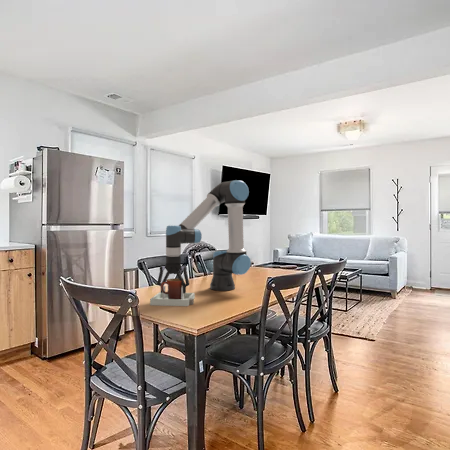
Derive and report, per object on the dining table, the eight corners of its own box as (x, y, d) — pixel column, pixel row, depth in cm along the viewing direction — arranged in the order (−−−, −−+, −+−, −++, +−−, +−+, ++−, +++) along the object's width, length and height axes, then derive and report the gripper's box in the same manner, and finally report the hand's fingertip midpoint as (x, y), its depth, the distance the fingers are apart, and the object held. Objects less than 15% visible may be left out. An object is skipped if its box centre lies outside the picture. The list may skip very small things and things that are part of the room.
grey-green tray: (197, 298, 190) (197, 293, 190) (191, 306, 173) (191, 300, 173) (159, 297, 192) (159, 292, 192) (150, 305, 175) (150, 299, 175)
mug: (179, 297, 189) (179, 277, 189) (186, 300, 181) (186, 280, 181) (157, 299, 183) (157, 279, 183) (164, 303, 175) (164, 282, 175)
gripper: (195, 255, 185) (195, 298, 185) (154, 254, 187) (154, 297, 187) (192, 256, 177) (192, 301, 178) (150, 256, 179) (150, 300, 180)
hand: (173, 299), depth 182 cm, fingers closed on mug, 9 cm apart
